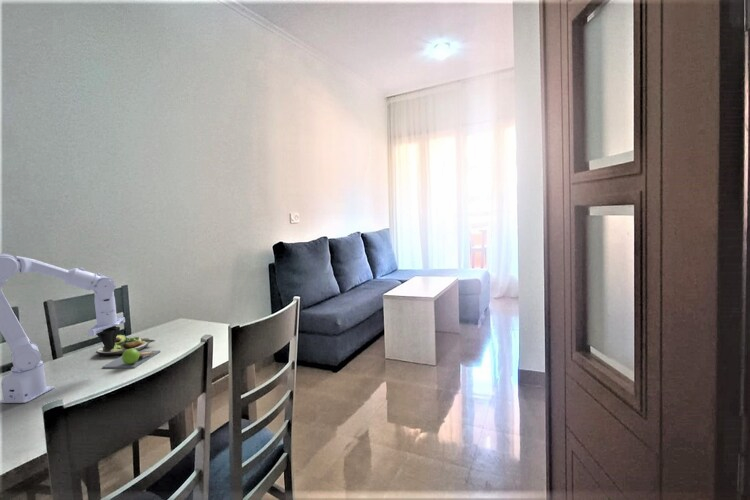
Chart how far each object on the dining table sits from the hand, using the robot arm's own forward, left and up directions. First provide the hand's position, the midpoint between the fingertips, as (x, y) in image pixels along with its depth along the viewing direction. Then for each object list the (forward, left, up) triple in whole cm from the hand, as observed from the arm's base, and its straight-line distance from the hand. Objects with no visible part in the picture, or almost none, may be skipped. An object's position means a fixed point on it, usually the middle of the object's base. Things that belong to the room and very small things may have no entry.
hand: (109, 348), depth 129 cm
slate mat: (+10, 0, -8) cm, 13 cm away
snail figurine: (+3, -4, -4) cm, 6 cm away
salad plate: (+21, +11, -8) cm, 25 cm away
